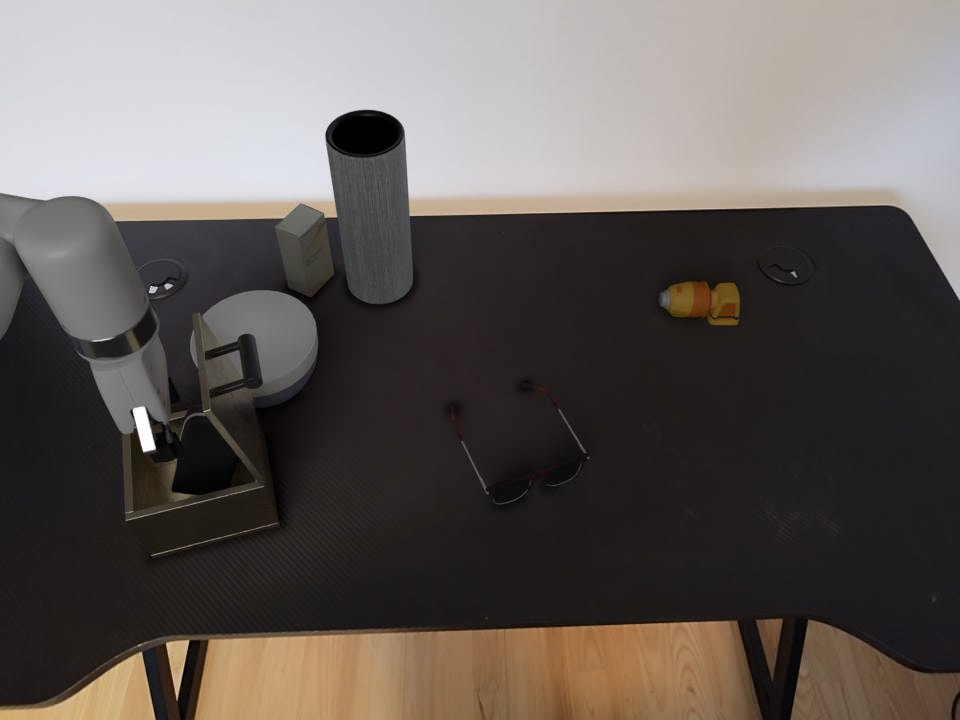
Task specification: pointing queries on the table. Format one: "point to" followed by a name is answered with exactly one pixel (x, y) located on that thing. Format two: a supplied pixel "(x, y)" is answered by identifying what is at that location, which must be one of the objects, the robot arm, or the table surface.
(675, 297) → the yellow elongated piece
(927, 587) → the table surface
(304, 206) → the cosmetic box
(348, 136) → the vase
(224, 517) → the brown hollow box
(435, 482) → the table surface
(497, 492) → the sunglasses
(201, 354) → the lid
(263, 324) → the white round container
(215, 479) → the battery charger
